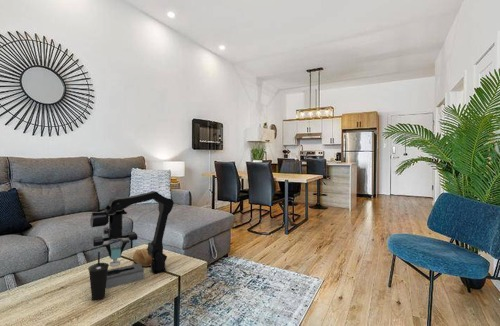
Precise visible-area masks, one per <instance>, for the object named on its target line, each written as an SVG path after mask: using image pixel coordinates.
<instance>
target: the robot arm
mask: <svg viewBox="0 0 500 326" xmlns="http://www.w3.org/2000/svg"><path fill="white" fill-rule="evenodd" d="M151 200H154V201H155V202H156V203H158V206H157V207H158V217H157V222H156V227H155V230H154V234H153V235H154V236H153V239H152V241H151V242H148V243H147V248H146V249H147V252H148V254H149V255H150V256H151V258H153V259H152V262H151V265H150V271H151V272H152V273H153V274H154V275H155V274H159V273H163V272H167V269H166V261H167V259H168V256H167V255H166V254H165V253H164V245H163V239H164V235H165V234H164V233H165V230H166V225H167V221H168V216H169V214H170V213H171V211H172V209H173V207H174V205H175V204H174V200H173V199H172V198H169V197H165V196H163V195H162V194H160V193H159V192H158V191H154V190H152V191H148V192H145V193H144V192H143V193H139V194H135V195H131V196H118V197H117V196H116V197H115V196H114V197H111V198H110V200H108V203H107V205H106V206H105V208H103V211H93V212H91V216H90V219H89V221H90V227H91V228H98V227H103V235H107V237H103V236H102V235H101V236H93V238H92V240H91V241H92V243H91V244H92V245H93V247H99V246H101V247H103V248H104V247H105V249H106V251H107V255H108V256H109V258H110V257H111V249H110V248H111V244H110V242H115V241H120V245H119V247H120V249H121V255H122V254H123V251H124V249H125V248H126V247H127V244H129V243H130V241H136V240H138V234H137V233H136V231H130V232H129V231H128V232H126V234H123V217H124V216H123V215H127V214H128V212H127V211H125V209H126V208H128V207H130V206H132V205H136V204H140V203H145V202H148V201H151ZM107 225H108V227H106V226H107Z"/></svg>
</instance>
